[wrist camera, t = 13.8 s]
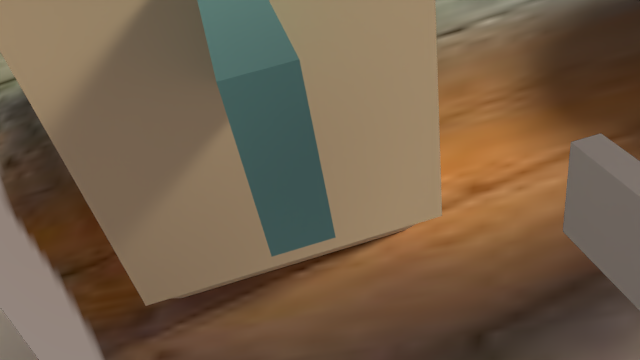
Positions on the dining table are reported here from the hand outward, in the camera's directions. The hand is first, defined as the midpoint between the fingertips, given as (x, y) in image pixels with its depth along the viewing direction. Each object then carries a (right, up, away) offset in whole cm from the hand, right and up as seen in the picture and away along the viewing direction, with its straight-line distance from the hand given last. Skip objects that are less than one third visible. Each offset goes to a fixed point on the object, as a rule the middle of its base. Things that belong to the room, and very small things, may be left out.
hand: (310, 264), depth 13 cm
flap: (-3, +5, +14) cm, 16 cm away
